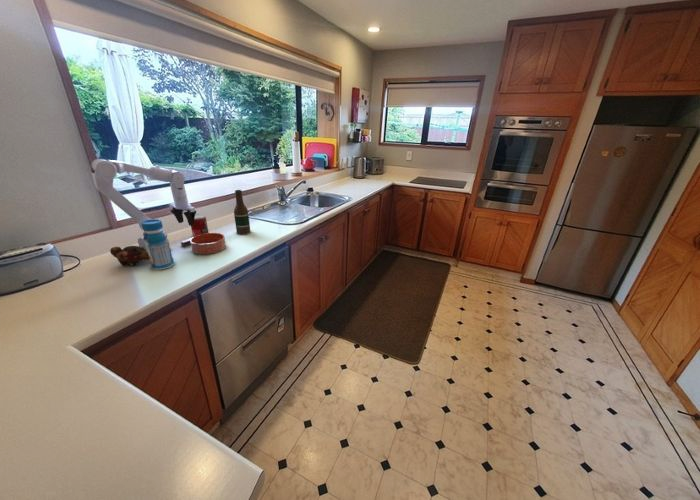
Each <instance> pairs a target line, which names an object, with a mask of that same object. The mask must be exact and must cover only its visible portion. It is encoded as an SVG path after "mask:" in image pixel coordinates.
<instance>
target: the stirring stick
mask: <svg viewBox="0 0 700 500" xmlns="http://www.w3.org/2000/svg"><path fill="white" fill-rule="evenodd" d="M193 237H194V236H192V237H190V238H187V239H183V240H181V241H180V245H181V247H183V248H186V247H189V246H191V243H190V239H191V238H193Z"/></svg>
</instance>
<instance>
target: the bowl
mask: <svg viewBox="0 0 700 500" xmlns="http://www.w3.org/2000/svg"><path fill="white" fill-rule="evenodd" d="M192 237H193V238H192ZM192 237H190V238H191V239H190V238H189V239H190V243H191V245H190V247H191V251H192V252H193V253H194V254H197V255H212V254H216V253H219V252H222V250H224V249H225V248H226V247H227V242H226V238H225V235H224V234H222V233H219V232H209V233H205V234H200V235H197V236H192Z"/></svg>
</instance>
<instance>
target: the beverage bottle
mask: <svg viewBox="0 0 700 500" xmlns="http://www.w3.org/2000/svg"><path fill="white" fill-rule="evenodd" d="M141 224H142V228H143V230H142V231H143V232H144V231H145V234H144V237H143V239H144V241H145V247H146V248H147V252H148V255H149V258H150V260H149V262H150V266H151V269H153V270H156V271H159V270H160V271H161V270H166V269H169V268H171V267H173V266H174V264H175V261H174V259H173V253H172V251H171V250H172V249H171V245H170V241H169V240H170V239H168V234H167V233H166V232H165V230H163V228H164V227H163V222H162V220H161V219H158V218H151V220H146V221H143V222H142V223H141ZM170 249H171V250H170Z"/></svg>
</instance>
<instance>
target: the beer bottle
mask: <svg viewBox="0 0 700 500" xmlns="http://www.w3.org/2000/svg"><path fill="white" fill-rule="evenodd" d="M234 194H235V202H236V203H235V207H234V210H233V216H234V224H235V230H236V234H237V235H241V236H242V235H248V234H250V233H251V224H250V223H251V222H250V216H249V210H248V207H247V206H246V205H245V203H244V199H243V191H242V189H235V191H234Z"/></svg>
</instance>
